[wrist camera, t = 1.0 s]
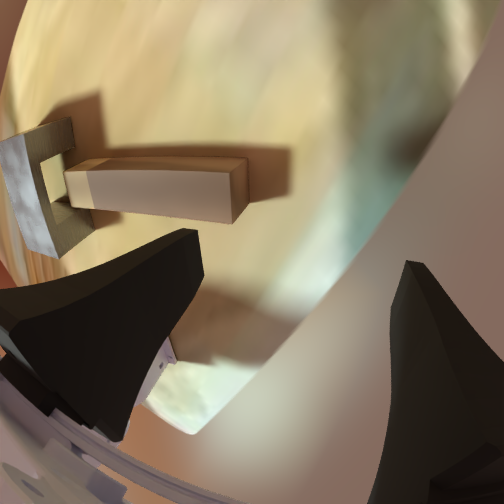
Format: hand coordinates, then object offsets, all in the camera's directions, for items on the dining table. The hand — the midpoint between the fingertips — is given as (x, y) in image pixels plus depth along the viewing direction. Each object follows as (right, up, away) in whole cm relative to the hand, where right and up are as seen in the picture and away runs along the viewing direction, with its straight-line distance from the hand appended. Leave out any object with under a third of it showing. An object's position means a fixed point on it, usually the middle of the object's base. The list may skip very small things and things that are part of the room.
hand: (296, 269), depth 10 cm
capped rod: (-8, +6, +10) cm, 14 cm away
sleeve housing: (-19, +8, +13) cm, 25 cm away
